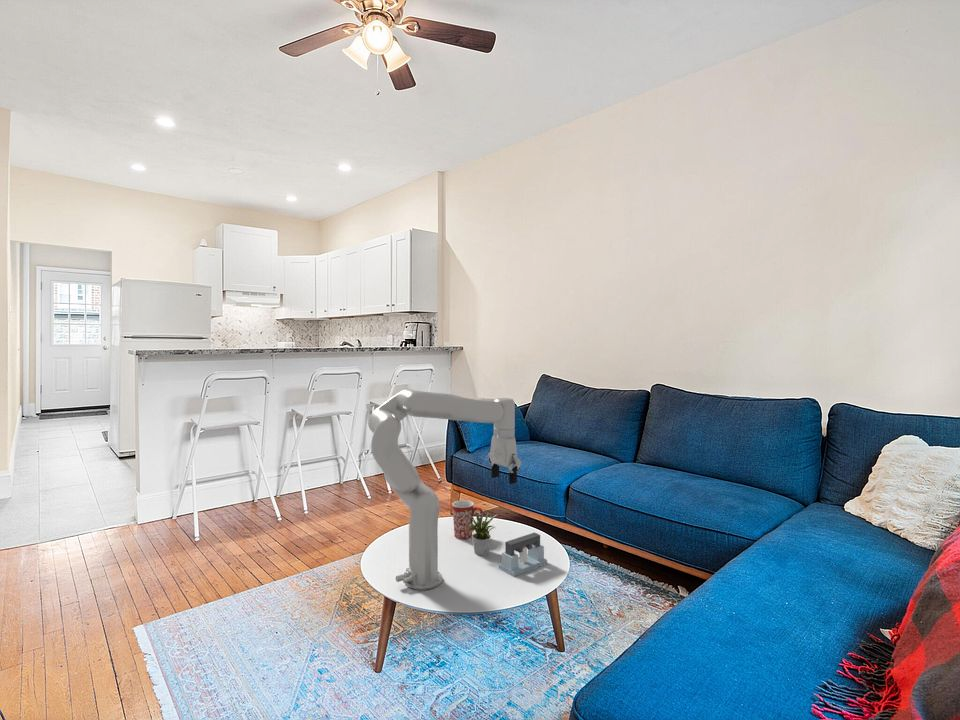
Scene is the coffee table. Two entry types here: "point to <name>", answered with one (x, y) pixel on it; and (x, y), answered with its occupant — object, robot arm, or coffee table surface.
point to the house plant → (480, 534)
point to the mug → (460, 522)
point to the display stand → (523, 560)
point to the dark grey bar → (522, 543)
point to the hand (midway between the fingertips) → (503, 480)
